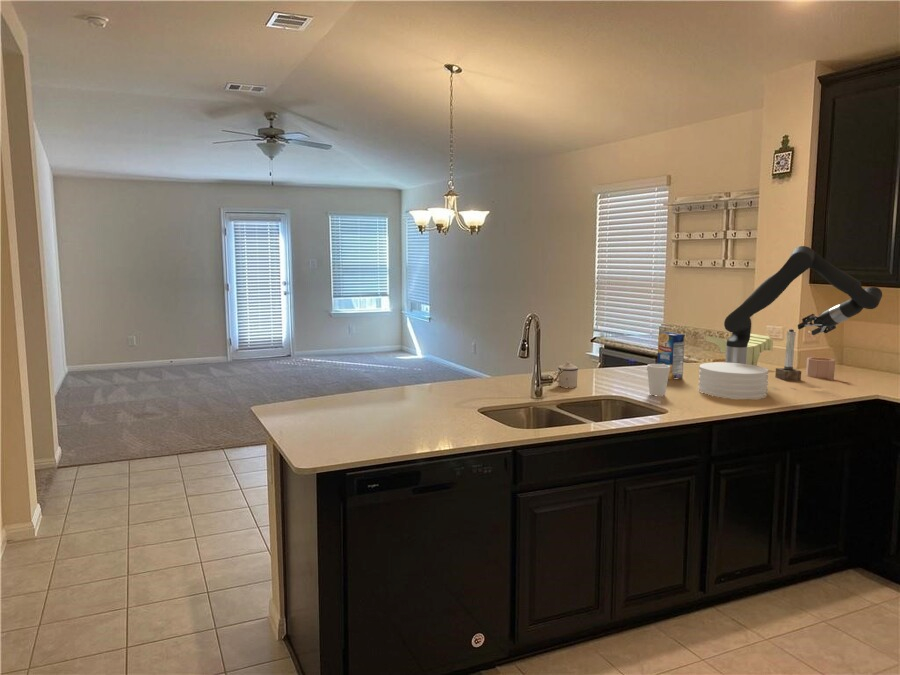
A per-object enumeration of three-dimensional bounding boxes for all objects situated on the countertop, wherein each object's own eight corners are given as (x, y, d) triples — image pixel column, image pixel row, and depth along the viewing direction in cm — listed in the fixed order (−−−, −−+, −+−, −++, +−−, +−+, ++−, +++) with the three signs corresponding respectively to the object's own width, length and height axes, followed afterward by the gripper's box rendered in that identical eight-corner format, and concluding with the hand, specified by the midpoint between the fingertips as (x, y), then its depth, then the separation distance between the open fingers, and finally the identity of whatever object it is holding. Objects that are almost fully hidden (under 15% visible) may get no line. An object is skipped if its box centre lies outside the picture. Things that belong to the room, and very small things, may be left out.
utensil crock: (808, 380, 311) (810, 360, 310) (804, 376, 322) (806, 356, 320) (835, 381, 307) (836, 361, 306) (830, 377, 318) (831, 357, 316)
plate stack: (760, 388, 292) (762, 364, 291) (772, 402, 266) (774, 375, 264) (695, 384, 300) (696, 361, 299) (701, 397, 273) (702, 371, 272)
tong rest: (784, 383, 303) (784, 371, 302) (775, 380, 311) (775, 368, 310) (800, 383, 303) (801, 371, 302) (791, 380, 311) (791, 368, 310)
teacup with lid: (570, 383, 301) (571, 359, 299) (581, 387, 293) (582, 362, 291) (548, 385, 296) (549, 361, 295) (559, 389, 288) (559, 364, 287)
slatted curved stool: (725, 373, 329) (727, 339, 327) (704, 368, 344) (706, 335, 342) (771, 370, 338) (773, 337, 336) (748, 365, 353) (750, 333, 351)
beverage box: (671, 379, 312) (673, 335, 309) (656, 375, 322) (658, 332, 319) (682, 378, 314) (684, 334, 311) (667, 374, 324) (669, 332, 322)
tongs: (783, 378, 308) (787, 329, 305) (788, 378, 308) (792, 329, 305) (787, 379, 305) (790, 329, 302) (792, 379, 305) (795, 329, 302)
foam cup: (665, 398, 271) (666, 368, 269) (643, 395, 276) (644, 366, 274) (670, 394, 279) (672, 365, 277) (649, 391, 284) (650, 363, 282)
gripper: (825, 316, 277) (794, 332, 291) (849, 327, 281) (817, 342, 295) (823, 302, 281) (792, 318, 295) (846, 313, 285) (815, 328, 298)
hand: (805, 330), depth 295 cm, fingers open, 8 cm apart
